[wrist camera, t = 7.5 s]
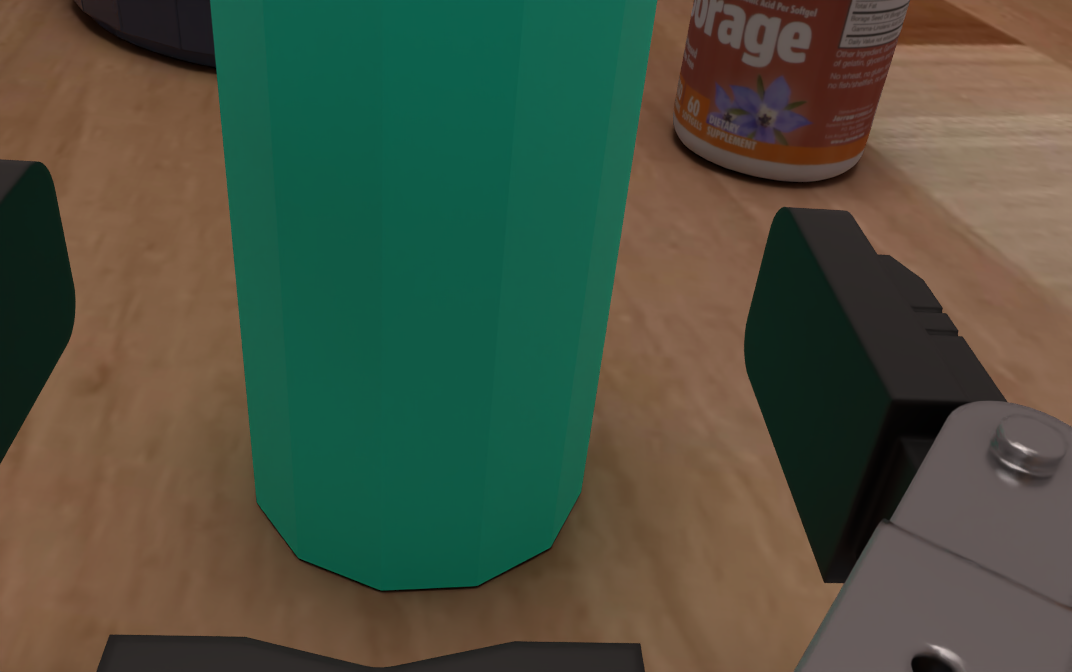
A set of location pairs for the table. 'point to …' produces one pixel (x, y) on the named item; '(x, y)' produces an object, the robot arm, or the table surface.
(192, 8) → the bowl
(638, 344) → the table surface
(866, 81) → the pill bottle
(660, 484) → the table surface
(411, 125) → the candle
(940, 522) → the robot arm
